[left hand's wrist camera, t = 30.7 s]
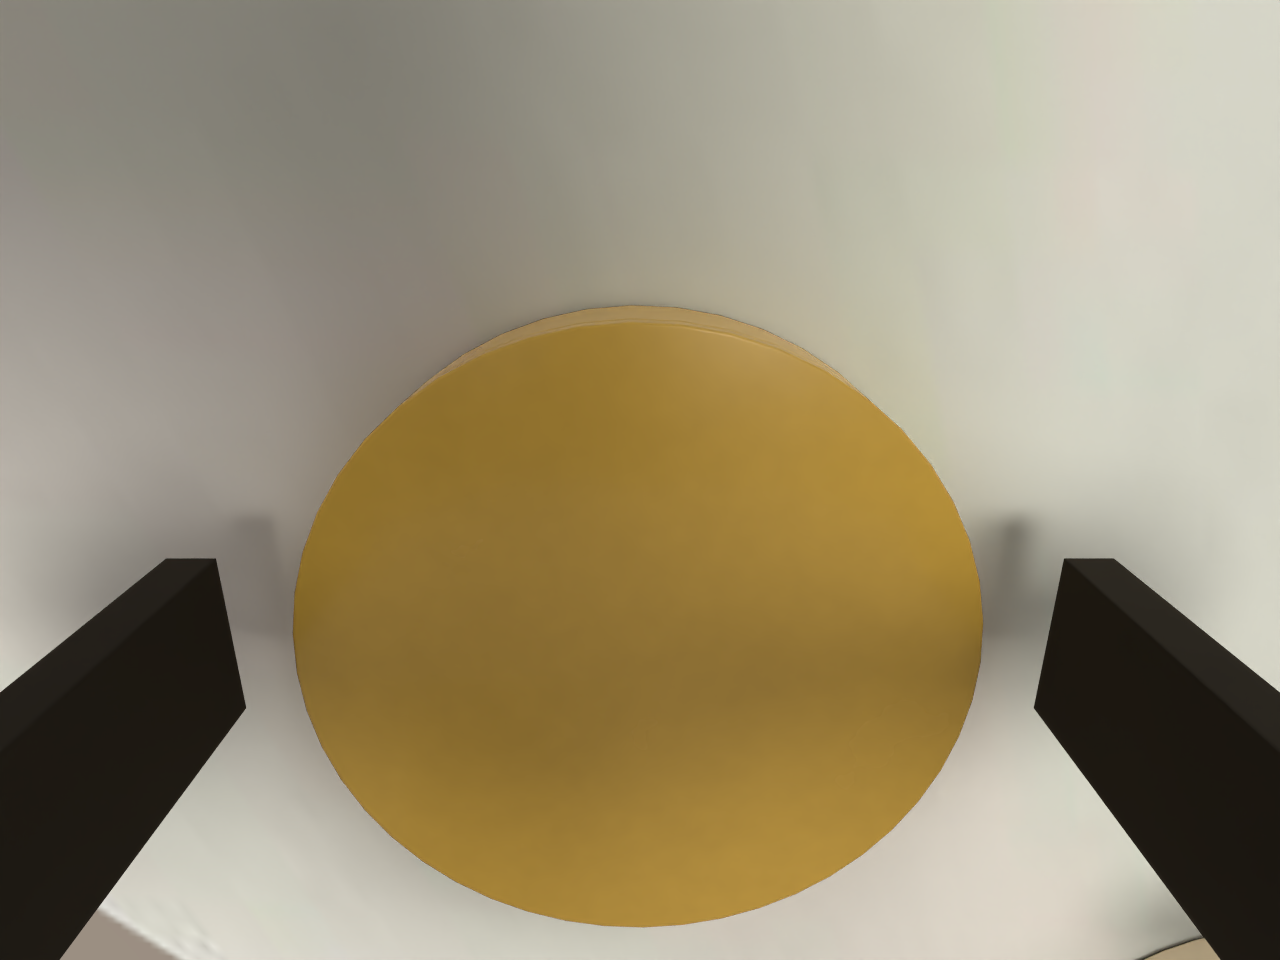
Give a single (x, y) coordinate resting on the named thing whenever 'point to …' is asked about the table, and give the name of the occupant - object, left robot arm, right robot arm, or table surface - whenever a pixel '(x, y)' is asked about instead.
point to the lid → (637, 619)
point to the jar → (1188, 952)
